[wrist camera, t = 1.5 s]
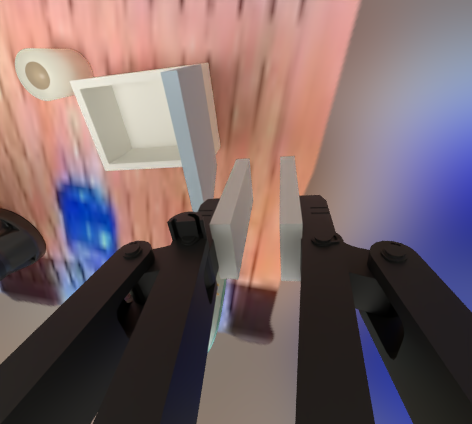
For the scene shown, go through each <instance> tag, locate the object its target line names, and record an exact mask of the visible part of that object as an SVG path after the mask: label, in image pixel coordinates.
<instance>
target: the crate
mask: <svg viewBox="0 0 472 424" xmlns="http://www.w3.org/2000/svg"><path fill="white" fill-rule="evenodd" d="M193 65H198V64H193ZM187 66H191V65H185V66H177V67H170V68H162V69H154V70H146V71H139V72H131V73H123V74H115V75H108V76H101V77H94V78H87V79H80V80H73V81H69V82H70V84H71V87H72V89H73V92H74V94H75V97H76V99H77V101H78V104H79V106H80V109H81V111H82V114H83V116H84V119H85V121H86V124H87V126H88V129H89V131H90V134H91V136H92V139H93V141H94V144H95V146H96V149H97V151H98V154H99V156H100V159H101V161H102V164H103V166H104V169H105V171H113V170H132V169H152V168H171V167H182V163H181V158H180V154H179V150H178V146H177V141H176V137H175V133H174V128H173V124H172V120H171V116H170V111H169V107H168V103H167V98H166V94H165V90H164V86H163V81H162V77H161V73H160V72H164V71H169V70H173V69H178V68H182V67H187ZM201 68H202V74H203V80H204V87H205V93H206V99H207V105H208V112H209V118H210V124H211V131H212V137H213V143H214V150H215V155H216V154H217V152H218V151H219V149H220V147H221V146H220V139H219V132H218V125H217V118H216V111H215V105H214V98H213V91H212V84H211V77H210V70H209V63H201Z"/></svg>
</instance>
